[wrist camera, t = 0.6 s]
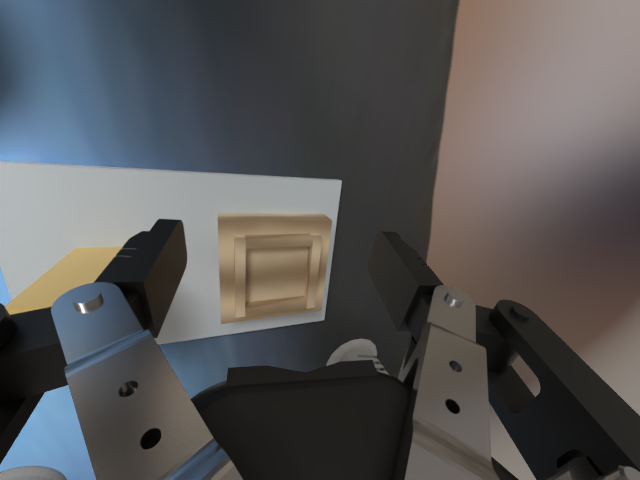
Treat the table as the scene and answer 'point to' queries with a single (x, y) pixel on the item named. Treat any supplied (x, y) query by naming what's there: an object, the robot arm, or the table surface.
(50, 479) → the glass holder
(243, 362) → the table surface
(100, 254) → the ochre pillar
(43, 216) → the white rectangular board
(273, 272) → the beech base slab
